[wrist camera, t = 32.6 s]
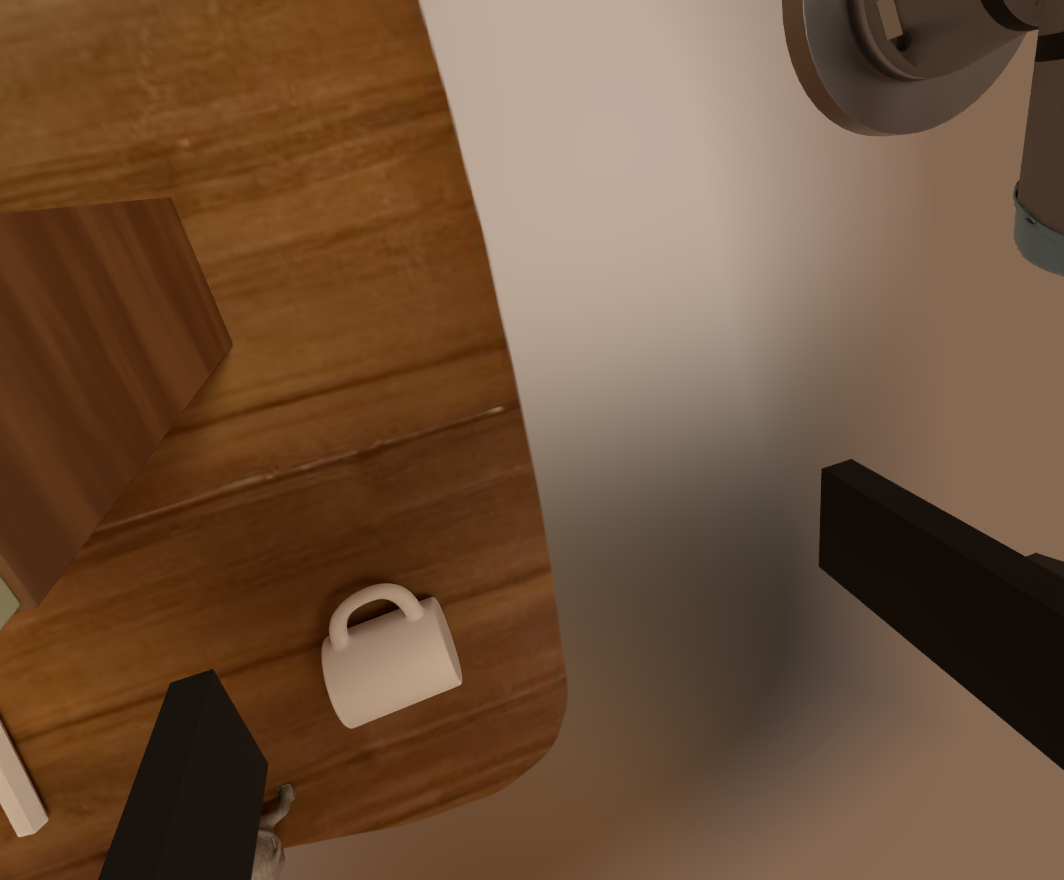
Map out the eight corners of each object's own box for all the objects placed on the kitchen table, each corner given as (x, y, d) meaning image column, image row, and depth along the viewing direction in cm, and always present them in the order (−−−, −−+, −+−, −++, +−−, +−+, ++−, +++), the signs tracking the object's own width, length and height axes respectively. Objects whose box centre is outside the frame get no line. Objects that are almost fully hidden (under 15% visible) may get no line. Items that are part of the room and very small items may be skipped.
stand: (170, 197, 39) (-230, 234, 12) (233, 344, 43) (38, 608, 17) (2, 231, 37) (-883, 361, 11) (84, 381, 41) (-396, 738, 15)
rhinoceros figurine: (336, 844, 62) (217, 1017, 48) (237, 810, 67) (105, 958, 54) (319, 787, 59) (189, 954, 46) (217, 756, 64) (73, 899, 51)
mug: (454, 640, 59) (468, 703, 52) (355, 679, 57) (355, 749, 50) (415, 544, 53) (424, 599, 46) (304, 584, 52) (296, 648, 45)
